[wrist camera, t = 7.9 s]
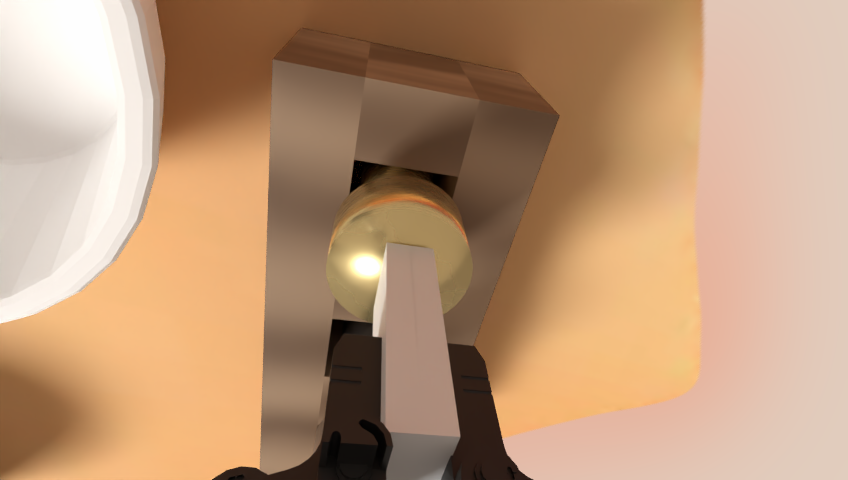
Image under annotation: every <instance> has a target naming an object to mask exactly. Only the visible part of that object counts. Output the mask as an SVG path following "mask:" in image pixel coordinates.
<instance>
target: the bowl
mask: <svg viewBox="0 0 848 480" xmlns="http://www.w3.org/2000/svg"><path fill="white" fill-rule="evenodd" d="M164 80H165V54H164V48H163V42H162V36H161V30H160V24H159V18H158V12H157V6H156V0H0V323H4V322H8V321H12V320H15V319H19V318H23V317H27V316H30V315H34V314H37V313H39V312H41V311H43V310H45V309H47V308H49V307H51V306H53V305H55V304H57V303H59V302H61V301H63V300H65V299H67V298H68V297H70V296H72V295H74V294H76V293H78V292H80V291H82V290H83V289H84V288H85V287H86V286H87V285H88V284H90V283H91V282H92V281H93V280H94V279H95V278H96V277H98V276H99V275H100V274H101V273H102V272H103V271H104V270H105V269H107V268H108V267H109V266H110V265H111V264H112V263H113V262H114V261H116V260H117V258H118V256H119V255H120V253H121V252H122V250H123V249H124V247H125V245H126V244H127V242H128V241H129V239H130V237H131V236H132V234H133V233H134V231H135V230H136V228H137V226H138V225H139V223H140V222H141V220H142V218H143V215H144V212H145V208H146V205H147V201H148V198H149V195H150V191H151V188H152V184H153V181H154V177H155V174H156V170H157V167H158V160H159V150H160V140H161V130H162V120H163V110H164Z"/></svg>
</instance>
